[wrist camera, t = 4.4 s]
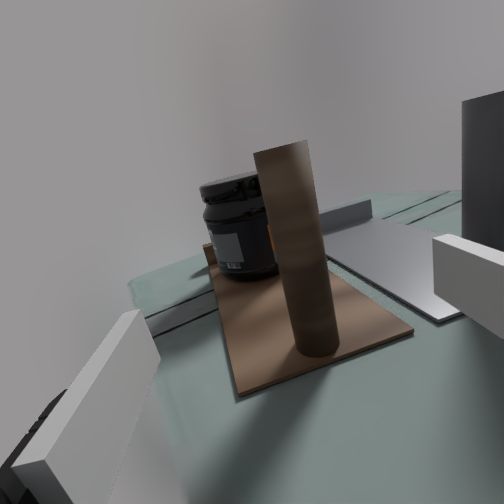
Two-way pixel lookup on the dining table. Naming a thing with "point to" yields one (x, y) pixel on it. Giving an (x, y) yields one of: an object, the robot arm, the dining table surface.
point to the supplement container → (239, 228)
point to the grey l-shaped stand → (420, 240)
